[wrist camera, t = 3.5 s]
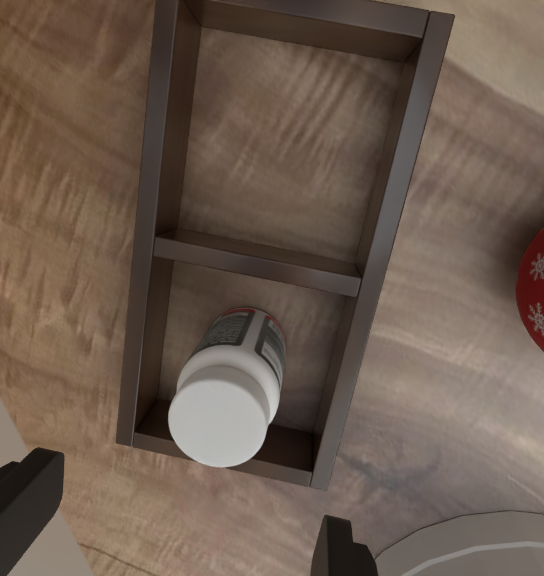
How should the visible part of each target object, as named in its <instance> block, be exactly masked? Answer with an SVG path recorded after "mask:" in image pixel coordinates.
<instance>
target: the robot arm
mask: <svg viewBox="0 0 544 576" xmlns="http://www.w3.org/2000/svg"><path fill="white" fill-rule="evenodd" d="M63 478H64V454H63V453H61V452H57V451H53V450H48V449H44V448H40V447H38V448H35V449H34V450H33V451H32V452H30V453H29V454H28V456H26V457H25V458H24V459H23V460H22V461H21V462H20V463H18V462H14V461H12V462H10V463H8V464H7V465H5V466H3V467H1V468H0V576H7V575H8V574H9V572H10V571H11V570H12V568H13V567H14V566H15V565H16V563H17V562H18V561H19V559H20V558H21V557H22V556H23V554H24V553H25V552H26V550H27V549H28V548H29V547H30V545H31V544H32V543H33V541H34V540H35V539H36V538H37V536H38V535H39V534H40V533H41V531H42V530H43V528H44V527H45V526H46V525H47V523H48V522H49V521H50V520H51V518H52V517H53V516H54V514H55V513H56V511H57V509H58V507H59V505H60V502H61V499H62V494H63ZM310 576H378V571H377V564H376V562H375V560H374V558H373V557H372V555H371V553H370V551H369V549H368V547H367V546H366V545H363V544H359V543H354V542H353V537H352V528H351V522H350V521H349V520H346V519H341V518H337V517H333V516H328V515H324V518H323V521H322V524H321V528H320V532H319V535H318V539H317V543H316V547H315V550H314V554H313V559H312V565H311V575H310Z"/></svg>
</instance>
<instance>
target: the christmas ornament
mask: <svg viewBox="0 0 544 576" xmlns="http://www.w3.org/2000/svg"><path fill="white" fill-rule="evenodd" d="M516 300H517V306H518V309H519V313H520V316H521V319H522V321H523V324H524V325H525V327H526V329H527V331H528V333H529V334H530V336H531V337H532V339H533V340H534V341H535V343H536V344H537V345H538V346H539V347H540V348H541V349H542V350H543V352H544V227H543V228H542V229H541V230H540V231H539V232H538V233H537V234H536V236H535V237H534V238H533V240H532V241H531V242H530V244H529V246H528V247H527V249H526V251H525V253H524V255H523V257H522V259H521V262H520V265H519V268H518V272H517V278H516Z"/></svg>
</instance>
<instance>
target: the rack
mask: <svg viewBox="0 0 544 576" xmlns="http://www.w3.org/2000/svg"><path fill="white" fill-rule="evenodd" d="M454 18H455V15H454V14H448V13H442V12H436V11H430V12H429V10H424V9H418V8H412V7H407V6H401V5H395V4H389V3H383V2H377V1H371V0H156V4H155V15H154V26H153V37H152V48H151V59H150V70H149V81H148V92H147V103H146V114H145V125H144V136H143V147H142V158H141V169H140V180H139V191H138V202H137V213H136V224H135V235H134V246H133V257H132V268H131V279H130V290H129V301H128V312H127V323H126V334H125V345H124V356H123V367H122V378H121V389H120V400H119V411H118V422H117V433H116V443H117V444H122V445H126V446H130V447H132V446H133V447H134V448H139V449H143V450H147V451H152V452H156V453H161V454H165V455H169V456H174V457H178V458H183V459H187V460H192V461H195V460H193V459H192V458H190V457H189V456H187V455H186V454H185V453H184V452H183V451H182V450H181V449H180V448H179V447H178V445H177V444H176V442H175V441H174V439H173V437H172V435H171V433H170V429H169V423H168V413H169V408H170V405H171V403H170V402H166V401H161V400H157V394H158V385H159V377H160V369H161V360H162V352H163V344H164V335H165V327H166V318H167V310H168V302H169V293H170V285H171V277H172V268H173V260H175V261H180V262H185V263H190V264H194V265H199V266H204V267H209V268H214V269H219V270H224V271H229V272H234V273H239V274H243V275H248V276H253V277H258V278H263V279H268V280H273V281H278V282H283V283H288V284H292V285H297V286H302V287H307V288H312V289H317V290H322V291H327V292H332V293H336V294H341V295H346V296H347V297H346V301H345V305H344V309H343V313H342V317H341V321H340V325H339V329H338V334H337V338H336V342H335V346H334V350H333V354H332V358H331V362H330V366H329V370H328V374H327V378H326V382H325V386H324V390H323V394H322V398H321V403H320V407H319V411H318V415H317V419H316V423H315V427H314V431H313V435H312V434H311V433H306V432H302V431H297V430H293V429H288V428H284V427H279V426H275V425H270V424H269V425H268V428H267V432H266V436H265V439H264V442H263V444H262V446H261V448H260V449H259V450H258V452H257V453H256V454H255V455H254V456H253V457H252V458H250V459H249V460H247V461H246V462H244V463H241V464H239V465H235V466H230V467H222V468H227V469H231V470H236V471H240V472H244V473H249V474H253V475H258V476H262V477H267V478H271V479H275V480H280V481H284V482H289V483H293V484H297V485H302V486H306V487H311V488H315V489H319V490H324V491H327V489H328V485H329V481H330V478H331V474H332V470H333V467H334V463H335V459H336V456H337V452H338V448H339V444H340V441H341V437H342V433H343V430H344V426H345V422H346V418H347V415H348V411H349V407H350V404H351V400H352V396H353V393H354V389H355V385H356V381H357V378H358V374H359V370H360V367H361V363H362V359H363V355H364V352H365V348H366V344H367V341H368V337H369V333H370V330H371V326H372V322H373V318H374V315H375V311H376V307H377V304H378V300H379V296H380V292H381V289H382V285H383V281H384V278H385V274H386V270H387V267H388V263H389V259H390V255H391V252H392V248H393V244H394V241H395V237H396V233H397V229H398V226H399V222H400V218H401V215H402V211H403V207H404V204H405V200H406V196H407V192H408V189H409V185H410V181H411V178H412V174H413V170H414V166H415V163H416V159H417V155H418V152H419V148H420V144H421V141H422V137H423V133H424V129H425V126H426V122H427V118H428V115H429V111H430V107H431V103H432V100H433V96H434V92H435V89H436V85H437V81H438V78H439V74H440V70H441V66H442V63H443V59H444V55H445V52H446V48H447V44H448V40H449V37H450V33H451V29H452V26H453V22H454ZM201 26H202V27H207V28H212V29H218V30H223V31H229V32H235V33H240V34H246V35H252V36H257V37H263V38H269V39H274V40H280V41H286V42H291V43H297V44H303V45H308V46H314V47H320V48H325V49H331V50H337V51H342V52H348V53H354V54H359V55H365V56H370V57H376V58H382V59H387V60H393V61H399V62H404V61H405V62H404V66H403V70H402V74H401V78H400V82H399V86H398V90H397V94H396V98H395V102H394V106H393V110H392V114H391V118H390V123H389V127H388V131H387V135H386V139H385V143H384V147H383V151H382V155H381V159H380V163H379V167H378V171H377V175H376V179H375V183H374V187H373V191H372V196H371V200H370V204H369V208H368V212H367V216H366V220H365V224H364V228H363V232H362V236H361V240H360V244H359V248H358V252H357V256H356V260H355V264H354V263H350V262H345V261H340V260H335V259H330V258H325V257H320V256H315V255H310V254H305V253H300V252H295V251H290V250H285V249H280V248H275V247H270V246H265V245H260V244H255V243H250V242H245V241H240V240H235V239H230V238H225V237H220V236H215V235H210V234H205V233H200V232H195V231H190V230H185V229H180V228H178V229H177V227H178V218H179V210H180V201H181V193H182V185H183V176H184V168H185V160H186V151H187V143H188V135H189V126H190V118H191V110H192V101H193V93H194V84H195V76H196V68H197V59H198V51H199V43H200V34H201ZM196 462H197V461H196Z"/></svg>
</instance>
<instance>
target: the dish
mask: <svg viewBox="0 0 544 576" xmlns="http://www.w3.org/2000/svg"><path fill="white" fill-rule="evenodd" d="M375 562H376V564H377V571H378V576H544V515H543V514H534V513H525V512H515V511H505V512H495V513H485V514H476V515H466V516H460V517H457V518H454V519H451V520H448V521H445V522H442V523H439V524H436V525H432V526H429V527H426V528H423V529H420V530H418V531H416V532H414V533H413V534H411V535H409V536H408V537H406V538H404V539H403V540H401V541H399V542H398V543H396V544H394V545H393V546H391V547H389V548H388V549H386V550H384V551H383V552H382V553H381V554H380V555H379V556H378V557H377V558H376V559H375Z"/></svg>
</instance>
